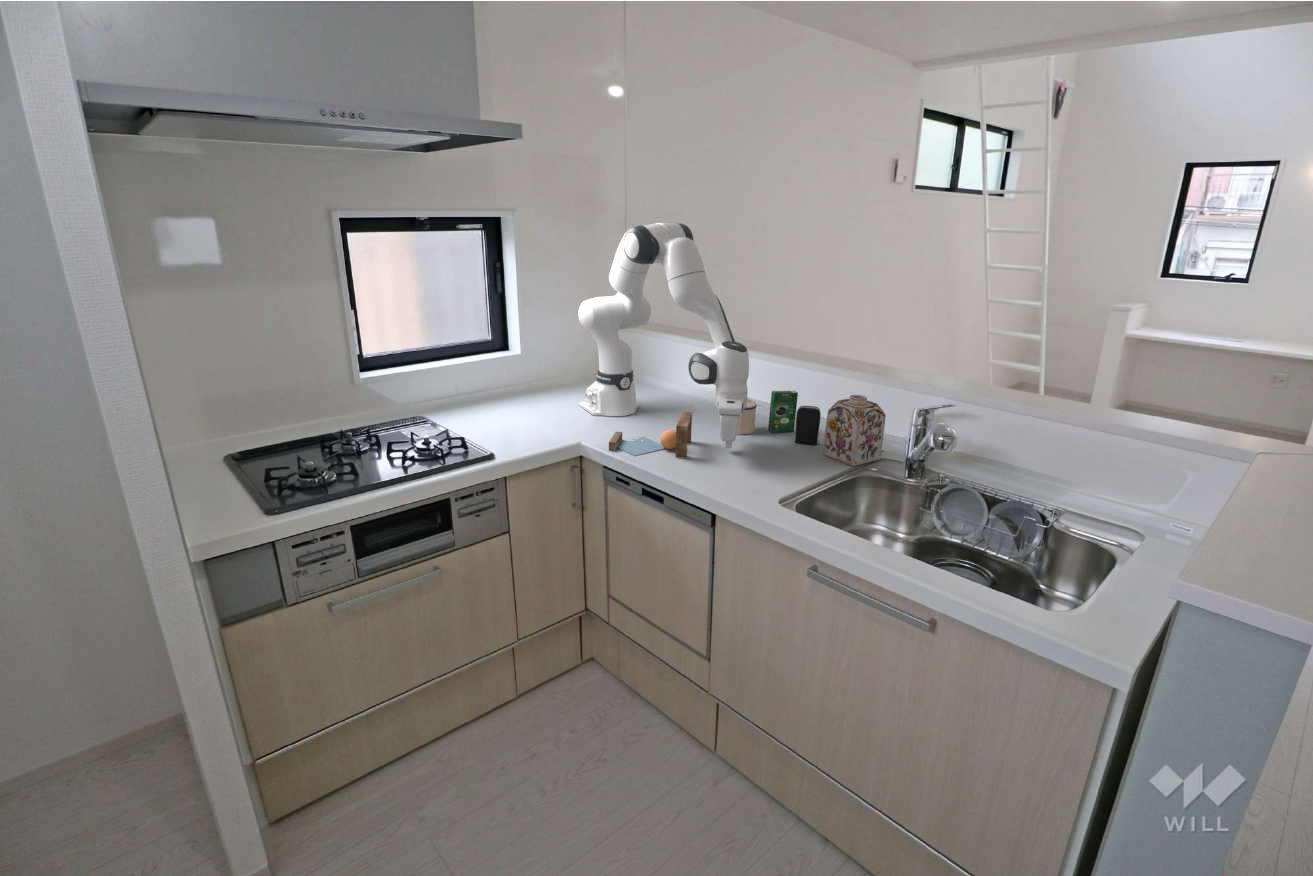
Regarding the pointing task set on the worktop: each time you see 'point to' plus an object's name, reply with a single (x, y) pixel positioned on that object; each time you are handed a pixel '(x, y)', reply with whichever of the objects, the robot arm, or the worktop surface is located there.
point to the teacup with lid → (747, 419)
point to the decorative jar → (854, 431)
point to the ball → (668, 439)
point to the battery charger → (807, 425)
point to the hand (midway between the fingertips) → (728, 446)
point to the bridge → (683, 433)
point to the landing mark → (640, 446)
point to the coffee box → (782, 411)
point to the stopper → (615, 441)
